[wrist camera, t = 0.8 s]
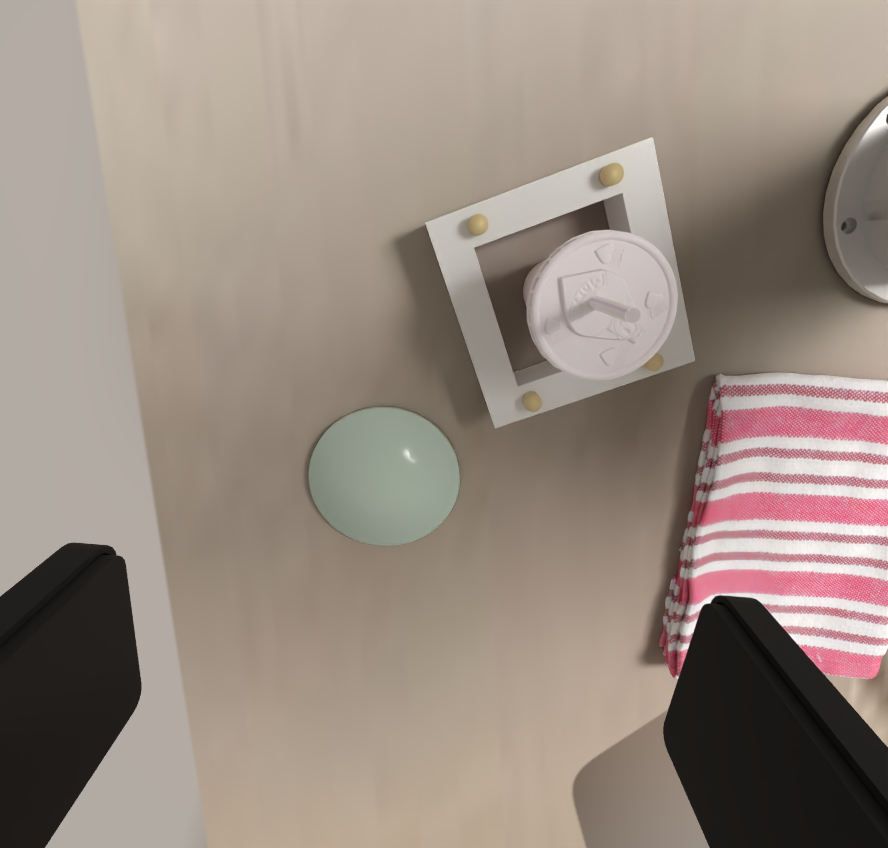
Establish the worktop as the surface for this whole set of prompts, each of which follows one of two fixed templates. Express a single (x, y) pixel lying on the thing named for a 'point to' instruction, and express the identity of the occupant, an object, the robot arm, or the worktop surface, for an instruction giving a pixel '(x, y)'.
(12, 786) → the robot arm
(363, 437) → the coaster
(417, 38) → the worktop surface
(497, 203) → the socket block
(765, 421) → the dish towel
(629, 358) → the smoothie
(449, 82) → the worktop surface
